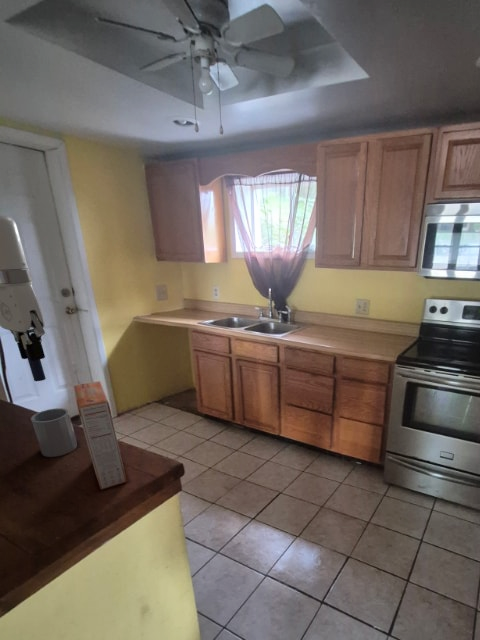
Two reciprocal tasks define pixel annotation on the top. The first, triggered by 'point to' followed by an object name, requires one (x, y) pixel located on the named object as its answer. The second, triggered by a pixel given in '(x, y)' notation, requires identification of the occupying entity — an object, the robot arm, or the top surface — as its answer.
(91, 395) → the cracker box
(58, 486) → the top surface
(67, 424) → the pen pot
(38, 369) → the marker
